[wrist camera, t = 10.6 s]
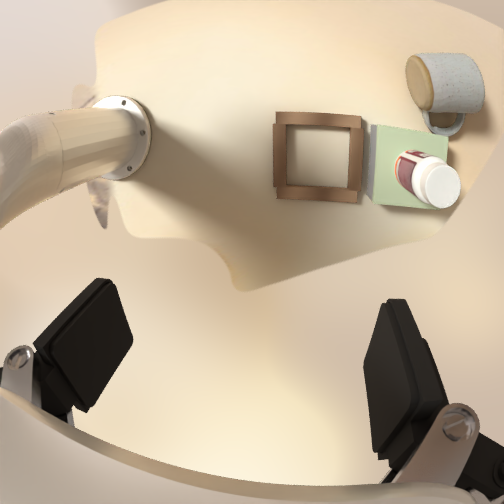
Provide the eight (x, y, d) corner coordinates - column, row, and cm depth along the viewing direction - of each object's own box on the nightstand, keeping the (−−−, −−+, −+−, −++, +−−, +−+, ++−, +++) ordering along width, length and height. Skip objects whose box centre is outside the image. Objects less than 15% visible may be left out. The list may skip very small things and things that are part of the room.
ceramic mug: (396, 58, 25) (419, 47, 18) (448, 58, 23) (477, 50, 16) (415, 138, 29) (442, 146, 23) (464, 133, 27) (496, 141, 20)
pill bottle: (408, 197, 29) (438, 223, 22) (385, 166, 28) (412, 183, 21) (436, 172, 27) (471, 191, 20) (413, 140, 26) (447, 149, 19)
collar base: (274, 196, 36) (273, 198, 35) (273, 112, 31) (272, 111, 30) (357, 200, 34) (359, 202, 33) (362, 116, 29) (364, 116, 28)
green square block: (366, 194, 34) (373, 203, 30) (370, 124, 30) (378, 124, 26) (427, 200, 32) (439, 210, 29) (434, 134, 28) (448, 137, 25)
